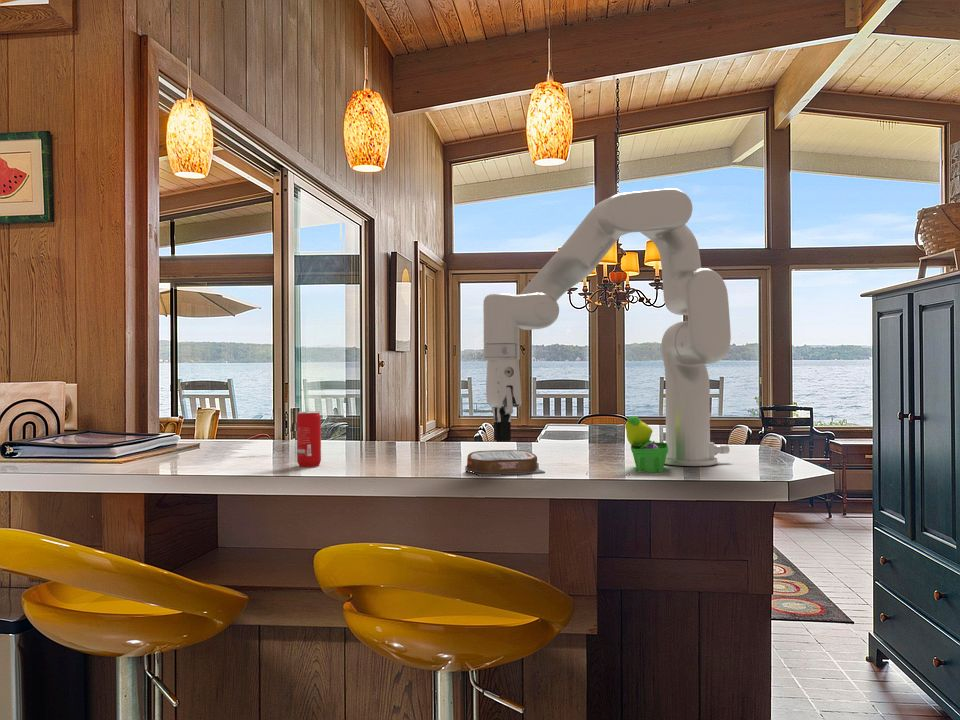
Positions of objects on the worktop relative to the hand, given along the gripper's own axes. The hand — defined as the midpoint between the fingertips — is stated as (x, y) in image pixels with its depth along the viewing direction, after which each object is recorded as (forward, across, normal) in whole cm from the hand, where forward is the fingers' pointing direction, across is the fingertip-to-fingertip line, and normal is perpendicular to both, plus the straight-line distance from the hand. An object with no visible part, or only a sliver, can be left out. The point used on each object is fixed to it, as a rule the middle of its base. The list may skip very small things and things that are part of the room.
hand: (502, 440), depth 161 cm
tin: (+3, +4, 0) cm, 5 cm away
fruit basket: (+7, -6, -30) cm, 31 cm away
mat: (+6, -2, 0) cm, 7 cm away
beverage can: (+7, +22, +38) cm, 44 cm away
